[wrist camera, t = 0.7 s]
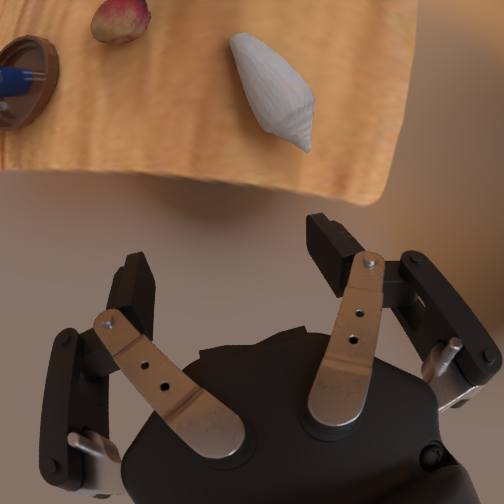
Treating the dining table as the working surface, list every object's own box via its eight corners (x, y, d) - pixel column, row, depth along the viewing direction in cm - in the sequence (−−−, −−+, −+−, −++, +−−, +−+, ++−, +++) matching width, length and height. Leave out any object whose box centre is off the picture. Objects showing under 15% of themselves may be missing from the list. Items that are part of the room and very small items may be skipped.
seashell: (254, 96, 39) (296, 163, 34) (199, 68, 31) (234, 137, 26) (292, 61, 34) (346, 123, 29) (240, 24, 25) (295, 79, 21)
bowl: (-5, 63, 20) (-18, 63, 16) (61, 23, 21) (48, 18, 17) (0, 139, 27) (-13, 144, 24) (65, 107, 29) (51, 109, 25)
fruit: (94, 41, 24) (70, 30, 18) (124, -1, 22) (106, -20, 15) (136, 57, 27) (118, 45, 20) (166, 13, 25) (156, -7, 18)
